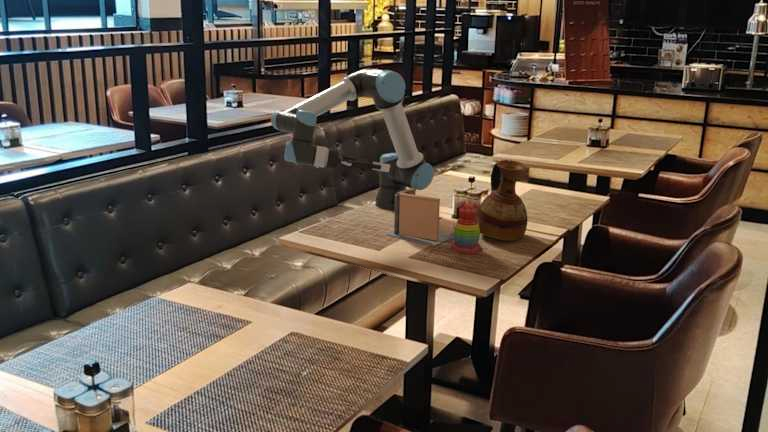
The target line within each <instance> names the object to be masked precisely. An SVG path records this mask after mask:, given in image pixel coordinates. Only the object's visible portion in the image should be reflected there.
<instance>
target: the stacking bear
mask: <svg viewBox="0 0 768 432" xmlns="http://www.w3.org/2000/svg"><path fill="white" fill-rule="evenodd" d="M478 209H479V205H478V204H477V203H472V202H465V203H462V202H461V203H460V204H459V208H458V215H459V218H457V221H456V223H455V225H454V230H453V236H454V238H453V239H454V241H453V242H452V243H451V246H450V247H451V249H452V250H453V251H454V252H456V253H458V254H460V255H473V254H476V253H479V252H480V251H481V249H482V246H481V243H479V241H480V240H479V239H480V236H481V233H480V229H479V223H478V221H477V219H476V216H477V211H478Z"/></svg>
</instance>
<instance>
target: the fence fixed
mask: <svg viewBox="0 0 768 432" xmlns="http://www.w3.org/2000/svg"><path fill="white" fill-rule="evenodd" d="M416 191H417V190H416V188H406V190H404V191H401V192H397V194H395V209H394V220H393V221H394V227H393V229H394V230H393V231H394V234H399V207H400V196H399V194H401V193H405V194H412V195H416V193H417V192H416Z"/></svg>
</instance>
